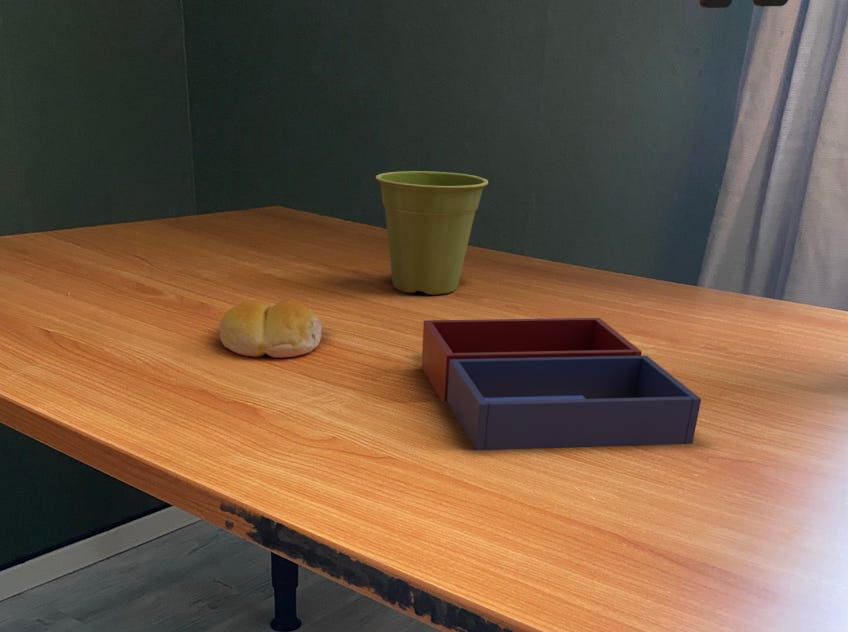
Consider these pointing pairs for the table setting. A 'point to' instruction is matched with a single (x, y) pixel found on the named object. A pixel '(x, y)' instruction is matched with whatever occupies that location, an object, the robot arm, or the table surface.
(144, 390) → the table surface
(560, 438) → the blue bin
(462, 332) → the red bin
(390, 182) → the plant pot
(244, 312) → the bread roll
